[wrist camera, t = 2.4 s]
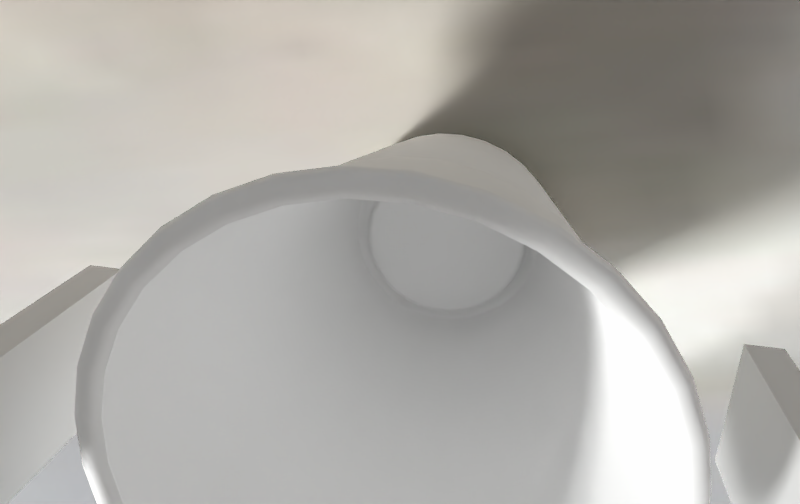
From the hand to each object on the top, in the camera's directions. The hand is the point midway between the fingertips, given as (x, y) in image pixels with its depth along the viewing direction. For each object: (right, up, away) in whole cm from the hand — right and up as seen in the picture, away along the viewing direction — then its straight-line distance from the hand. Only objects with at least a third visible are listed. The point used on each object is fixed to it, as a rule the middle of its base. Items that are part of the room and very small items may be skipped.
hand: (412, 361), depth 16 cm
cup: (+1, +3, +6) cm, 7 cm away
